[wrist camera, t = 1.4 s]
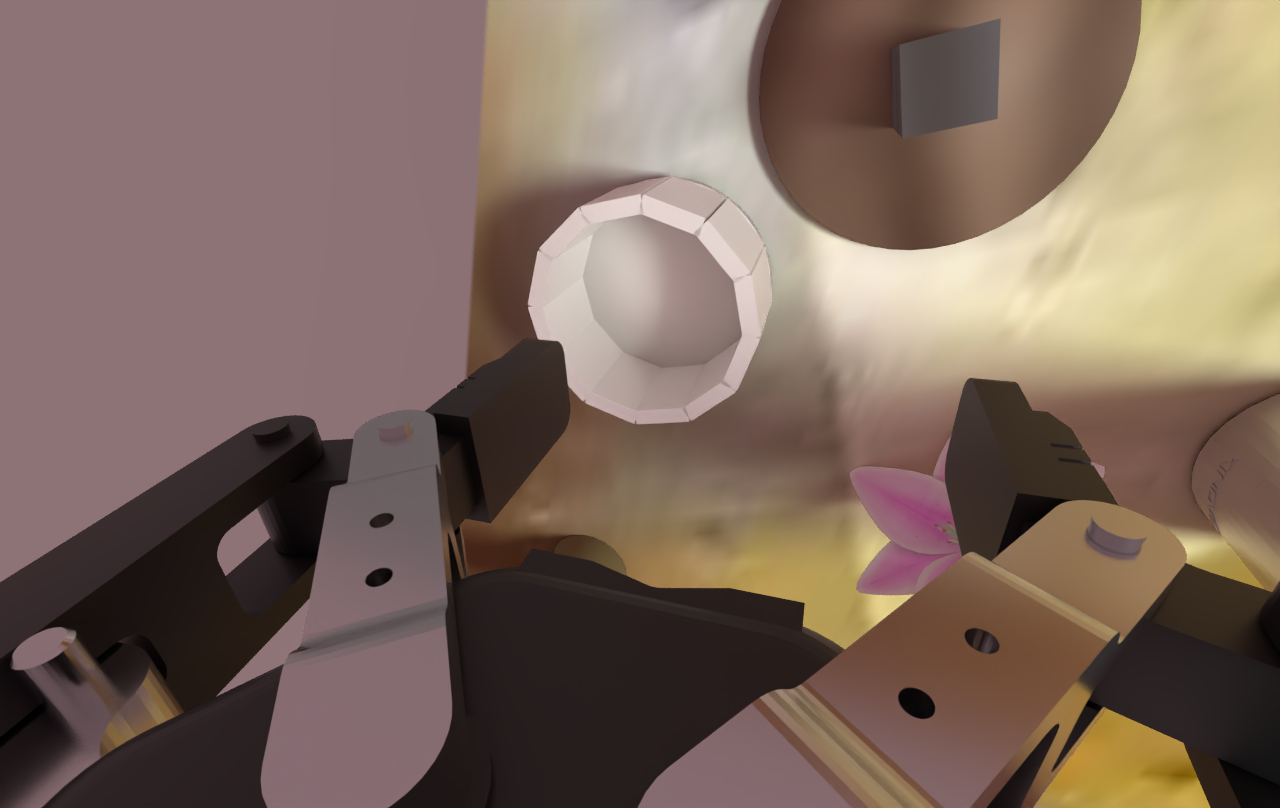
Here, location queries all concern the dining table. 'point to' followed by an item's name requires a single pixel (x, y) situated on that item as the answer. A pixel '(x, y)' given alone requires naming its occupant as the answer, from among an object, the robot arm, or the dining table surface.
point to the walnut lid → (937, 108)
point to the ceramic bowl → (654, 299)
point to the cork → (590, 551)
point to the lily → (909, 526)
